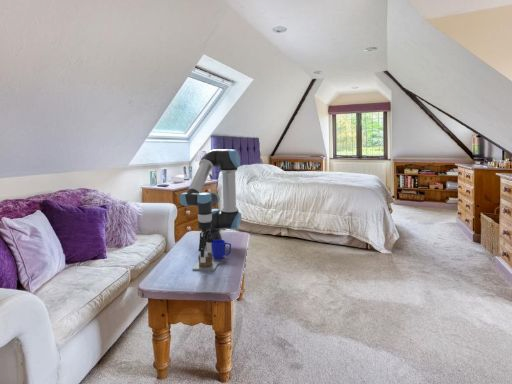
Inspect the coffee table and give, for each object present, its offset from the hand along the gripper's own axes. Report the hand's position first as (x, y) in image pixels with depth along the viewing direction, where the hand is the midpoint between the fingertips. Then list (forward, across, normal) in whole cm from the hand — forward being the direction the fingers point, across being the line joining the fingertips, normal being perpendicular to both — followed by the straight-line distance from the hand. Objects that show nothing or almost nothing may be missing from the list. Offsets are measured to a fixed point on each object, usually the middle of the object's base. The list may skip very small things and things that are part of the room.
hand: (206, 257), depth 183 cm
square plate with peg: (+5, +1, 0) cm, 5 cm away
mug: (+6, -15, +5) cm, 17 cm away
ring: (+4, +1, 0) cm, 4 cm away
